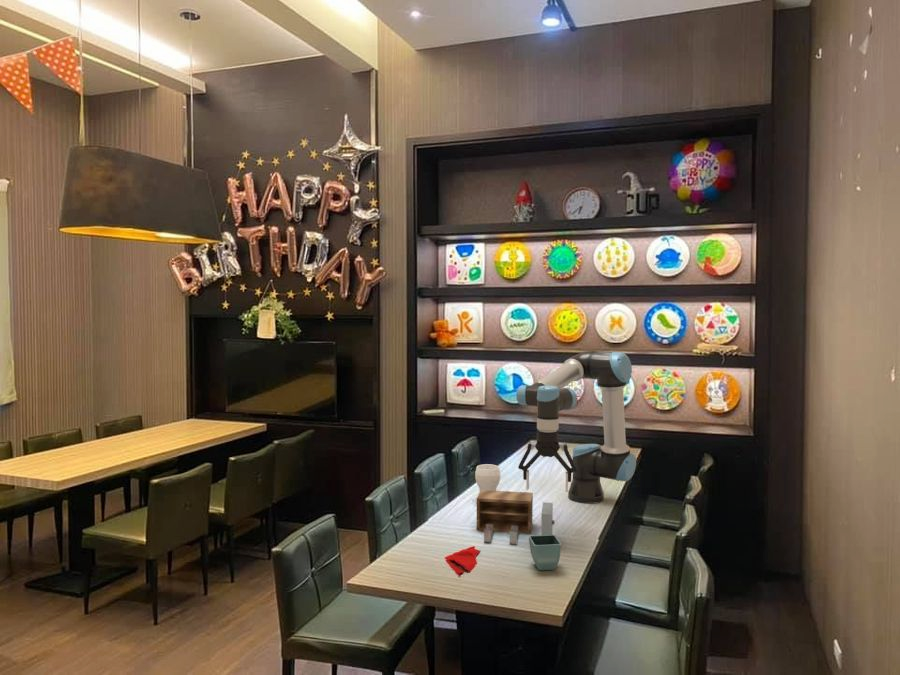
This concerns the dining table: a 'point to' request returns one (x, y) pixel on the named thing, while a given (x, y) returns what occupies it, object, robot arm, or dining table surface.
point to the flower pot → (545, 551)
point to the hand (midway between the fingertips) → (547, 489)
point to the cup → (487, 477)
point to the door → (547, 518)
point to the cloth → (463, 560)
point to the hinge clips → (490, 532)
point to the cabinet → (505, 510)
